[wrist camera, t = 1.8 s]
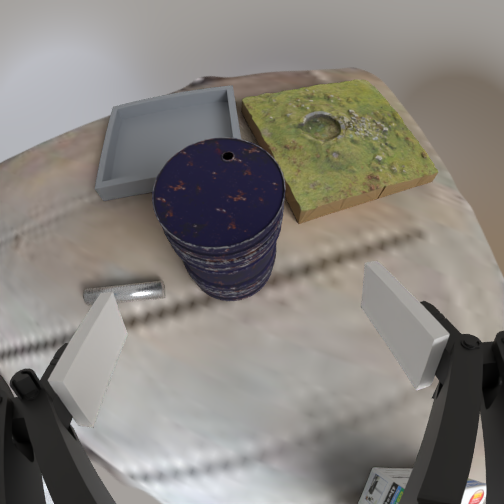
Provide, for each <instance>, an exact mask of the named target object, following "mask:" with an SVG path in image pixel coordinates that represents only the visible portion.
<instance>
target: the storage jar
mask: <svg viewBox="0 0 504 504" xmlns="http://www.w3.org/2000/svg"><path fill="white" fill-rule="evenodd" d="M285 190H286V188H285V179H284V176H283V172H282V170H281V168H280V166H279V164H278V163H277V162H276V160H275V159H274V158H273V157H272V156H271V155H270V154H269V153H268V152H267V151H265V150H264V149H263V148H261V147H259V146H258V145H256V144H254V143H251V142H248V141H245V140H242V139H237V138H228V137H219V138H210V139H205V140H202V141H198V142H195V143H193V144H191V145H188V146H187V147H185V148H183V149H181V150H180V151H178V152H177V153H176V154H174V155H173V156H172V157H171V158H170V159H169V160H168V161H167V162H166V163H165V165H164V166H163V167H162V168H161V170H160V172H159V174H158V175H157V178H156V180H155V183H154V187H153V193H152V202H153V208H154V212H155V214H156V217H157V219H158V221H159V222H160V224H161V226H162V228H163V230H164V233H165V235H166V237H167V239H168V240H169V242H170V243H171V245H172V247H173V249H174V250H175V252H176V253H177V255H178V256H179V257H180V258H181V259H182V260H183V263H184V265H185V267H186V269H187V271H188V273H189V275H190V276H191V277H192V279H193V280H194V281H195V282H196V283H197V285H198V286H199V287H200V288H201V289H202V290H203V291H204V292H205V293H206V294H208V295H209V296H211V297H213V298H216V299H219V300H224V301H237V300H242V299H245V298H248V297H250V296H252V295H254V294H255V293H257V292H258V291H259V290H260V289H261V288H262V287H263V286H264V285H265V284H266V282H267V281H268V279H269V277H270V275H271V272H272V268H273V265H274V262H275V257H276V241H277V239H278V236H279V233H280V230H281V223H282V218H283V210H284V199H285Z"/></svg>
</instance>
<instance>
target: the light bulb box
mask: <svg viewBox="0 0 504 504" xmlns="http://www.w3.org/2000/svg"><path fill="white" fill-rule="evenodd" d="M412 469H413V468H378V467H373V468H372V470H371V473H370V475H369V478H368V481H367V483H366V486H365V488H364V490H363V493H362V495H361V497H360V500H359V502H358V504H398V503H399V501H400V499H401V496H402V494H403V492H404V489H405V487H406V485H407V482H408V480H409V477H410V475H411V472H412ZM485 496H486V484H485V483H482V482H478V481H475V480H472V479H469V478H468V480H467V484H466V488H465V491H464V495H463V498H462V502H461V504H482V503H483V501H484V499H485Z"/></svg>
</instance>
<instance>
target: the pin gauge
mask: <svg viewBox="0 0 504 504" xmlns="http://www.w3.org/2000/svg"><path fill="white" fill-rule="evenodd" d="M107 292H113V293H114V296H115V299H116V302H117V303H120V302H131V301H142V300H152V299H163V298H165V286H164V282H163V281H154V282H145V283H136V284H127V285H117V286H107V287H98V288H88V289H85V290H84V294H83V297H84V301H85V303H86V304H87V305H93V304H94V302H95V301H96V299H97V298H98V296H99V295H100V293H107Z"/></svg>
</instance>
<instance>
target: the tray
mask: <svg viewBox="0 0 504 504" xmlns="http://www.w3.org/2000/svg"><path fill="white" fill-rule="evenodd" d="M219 137H228V138H237V139H241V135H240V129H239V123H238V116H237V110H236V104H235V97H234V91H233V85H232V86H223V87H214V88H206V89H199V90H192V91H186V92H180V93H174V94H169V95H163V96H158V97H153V98H149V99H144V100H139V101H135V102H131V103H127V104H123V105H119V106H115V107H113V109H112V112H111V116H110V120H109V124H108V128H107V132H106V136H105V140H104V144H103V149H102V154H101V158H100V163H99V168H98V174H97V179H96V185H95V190H96V191H97V193H98V194H99V195H100V197H101V198H102V199H103V201H107V200H112V199H117V198H122V197H128V196H133V195H139V194H144V193H150V192H153V187H154V183H155V180H156V178H157V175H158V174H159V172H160V170H161V168H162V167H163V166H164V165H165V163H166V162H167V161H168V160H169V159H170V158H171V157H172V156H173V155H174V154H176V153H177V152H178V151H180V150H181V149H183V148H185V147H187V146H188V145H191V144H193V143H195V142H198V141H202V140H205V139H210V138H219Z"/></svg>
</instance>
